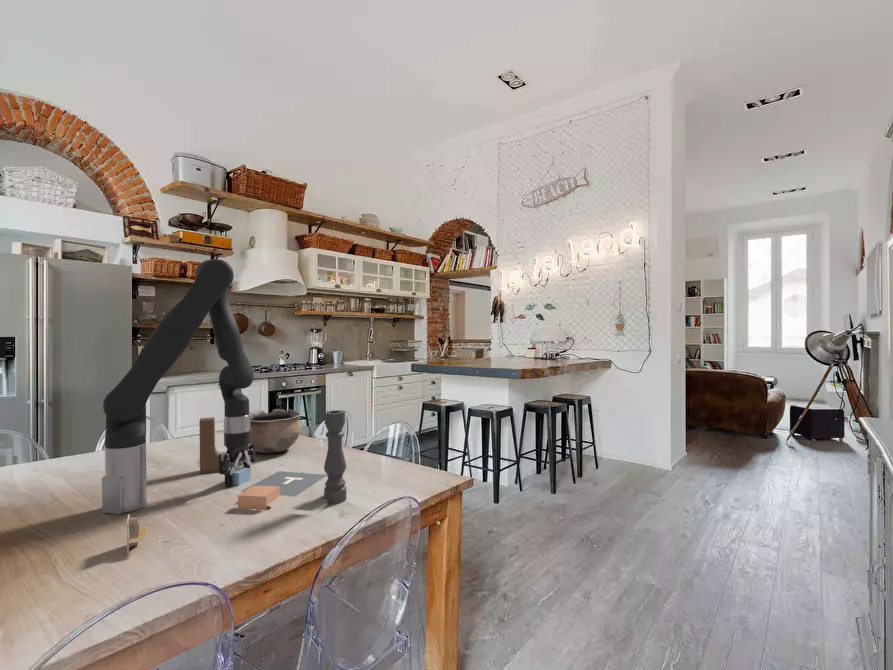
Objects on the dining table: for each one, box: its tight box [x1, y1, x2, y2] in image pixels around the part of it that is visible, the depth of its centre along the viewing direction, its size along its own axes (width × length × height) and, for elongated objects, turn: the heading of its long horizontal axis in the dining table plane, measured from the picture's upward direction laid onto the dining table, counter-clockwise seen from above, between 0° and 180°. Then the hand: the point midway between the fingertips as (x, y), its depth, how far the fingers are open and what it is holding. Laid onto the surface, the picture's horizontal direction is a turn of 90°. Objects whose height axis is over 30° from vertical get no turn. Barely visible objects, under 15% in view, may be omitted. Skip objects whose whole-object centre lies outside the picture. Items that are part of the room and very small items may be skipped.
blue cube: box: [229, 466, 251, 487], centre depth 145 cm, size 5×5×5 cm
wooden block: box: [199, 417, 231, 474], centre depth 160 cm, size 9×4×18 cm, turn 115°
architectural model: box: [126, 513, 148, 555], centre depth 104 cm, size 3×7×7 cm, turn 31°
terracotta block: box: [237, 485, 281, 511], centre depth 130 cm, size 8×8×4 cm
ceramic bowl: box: [249, 408, 302, 454], centre depth 185 cm, size 22×22×15 cm
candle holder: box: [323, 409, 348, 505], centre depth 133 cm, size 6×6×25 cm
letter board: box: [240, 470, 328, 497], centre depth 144 cm, size 20×18×1 cm
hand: (238, 482), depth 145 cm, fingers open, 7 cm apart
